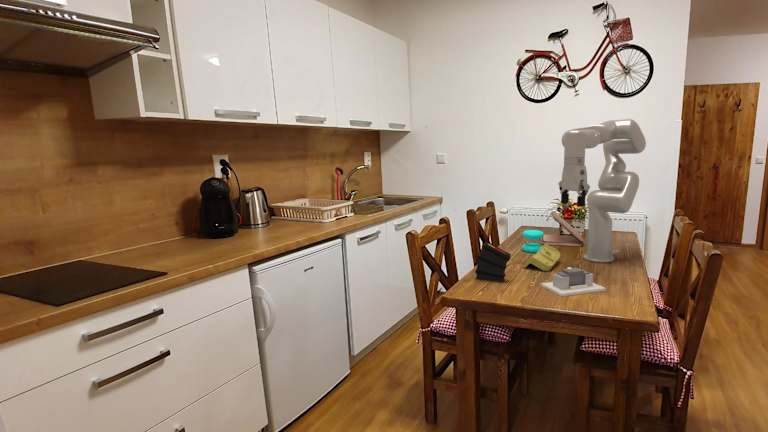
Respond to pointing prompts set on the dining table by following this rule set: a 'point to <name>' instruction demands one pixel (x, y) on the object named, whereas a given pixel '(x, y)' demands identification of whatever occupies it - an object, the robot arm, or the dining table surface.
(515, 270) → the dining table surface
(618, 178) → the robot arm
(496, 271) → the black ridged block
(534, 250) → the cyan spool
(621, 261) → the dining table surface
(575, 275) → the servo
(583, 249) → the dining table surface
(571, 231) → the case
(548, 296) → the dining table surface
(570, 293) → the cradle
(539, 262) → the plastic component
